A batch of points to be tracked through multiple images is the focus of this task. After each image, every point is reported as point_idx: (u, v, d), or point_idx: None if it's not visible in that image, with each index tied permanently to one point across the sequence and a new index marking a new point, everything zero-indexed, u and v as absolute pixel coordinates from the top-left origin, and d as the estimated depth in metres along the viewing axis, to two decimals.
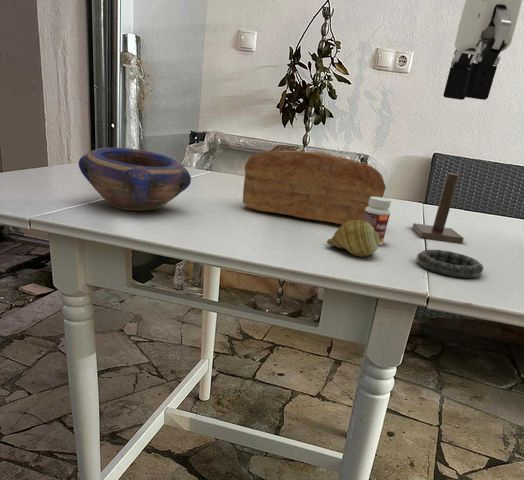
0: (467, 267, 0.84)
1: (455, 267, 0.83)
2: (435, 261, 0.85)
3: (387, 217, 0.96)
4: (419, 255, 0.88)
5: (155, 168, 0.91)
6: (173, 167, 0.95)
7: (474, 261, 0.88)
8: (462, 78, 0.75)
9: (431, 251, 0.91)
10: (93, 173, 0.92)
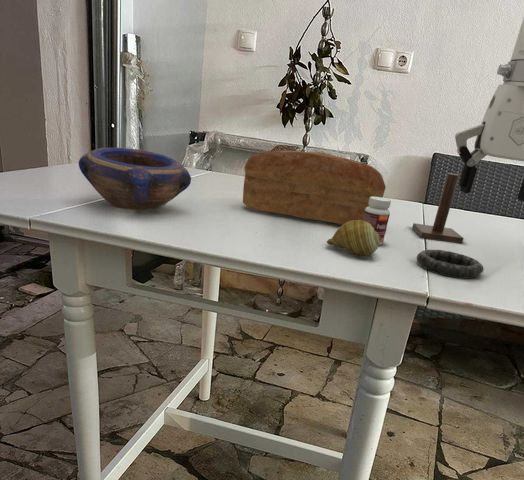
0: (467, 267, 0.84)
1: (455, 267, 0.83)
2: (435, 261, 0.85)
3: (387, 217, 0.96)
4: (419, 255, 0.88)
5: (155, 168, 0.91)
6: (173, 167, 0.95)
7: (474, 261, 0.88)
8: None
9: (431, 251, 0.91)
10: (93, 173, 0.92)
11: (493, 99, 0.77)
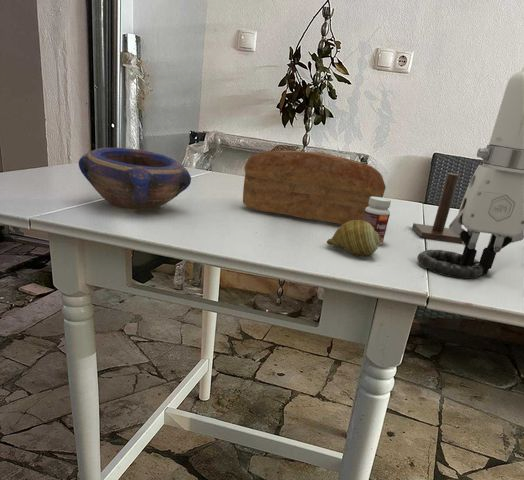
0: (468, 267, 0.84)
1: (456, 267, 0.83)
2: (435, 261, 0.85)
3: (387, 217, 0.96)
4: (420, 255, 0.88)
5: (155, 168, 0.91)
6: (173, 167, 0.95)
7: (475, 261, 0.88)
8: (485, 257, 0.87)
9: (432, 251, 0.91)
10: (93, 173, 0.92)
11: (474, 178, 0.83)
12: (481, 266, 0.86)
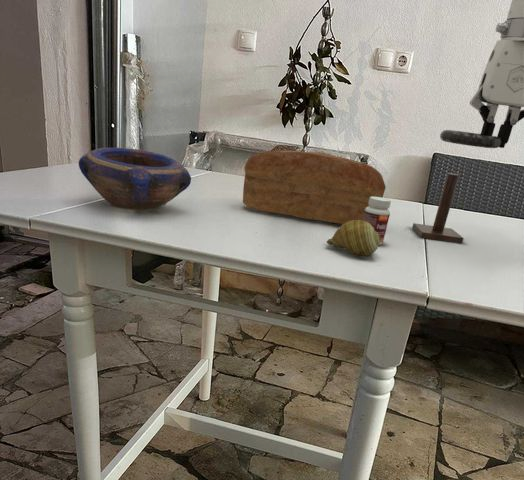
0: (488, 136, 0.92)
1: (478, 136, 0.92)
2: (458, 133, 0.93)
3: (387, 217, 0.96)
4: (443, 132, 0.97)
5: (155, 168, 0.91)
6: (173, 167, 0.95)
7: (493, 136, 0.97)
8: (502, 131, 0.96)
9: (453, 131, 0.99)
10: (93, 173, 0.92)
11: (492, 53, 0.91)
12: (499, 138, 0.94)
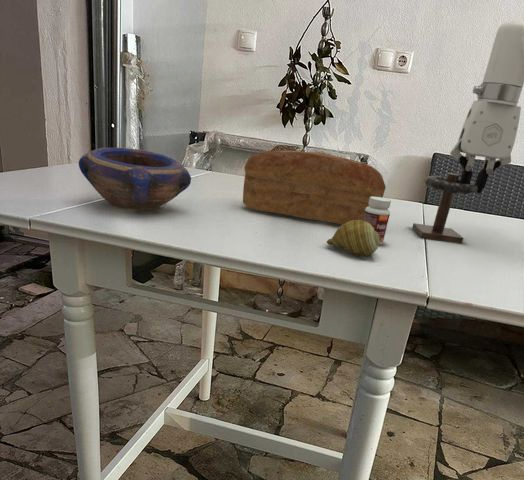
0: (465, 184, 1.03)
1: (456, 184, 1.03)
2: (439, 181, 1.04)
3: (387, 217, 0.96)
4: (426, 178, 1.08)
5: (155, 168, 0.91)
6: (173, 167, 0.95)
7: (471, 182, 1.08)
8: (479, 178, 1.07)
9: (436, 176, 1.11)
10: (93, 173, 0.92)
11: (470, 111, 1.03)
12: (476, 185, 1.06)
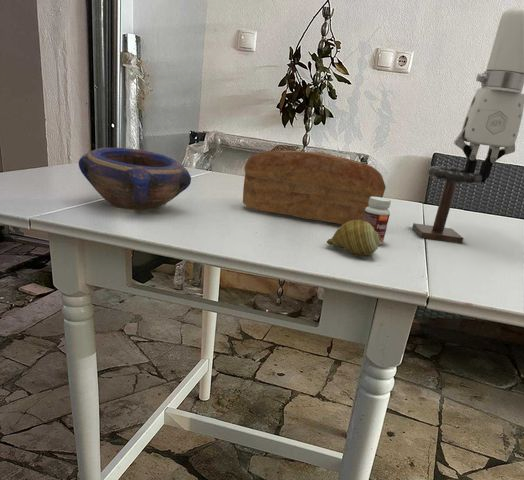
0: (469, 173, 1.02)
1: (460, 173, 1.02)
2: (443, 170, 1.03)
3: (387, 217, 0.96)
4: (429, 168, 1.07)
5: (155, 168, 0.91)
6: (173, 167, 0.95)
7: (475, 172, 1.07)
8: (483, 168, 1.06)
9: (439, 166, 1.10)
10: (93, 173, 0.92)
11: (474, 99, 1.02)
12: (480, 174, 1.05)
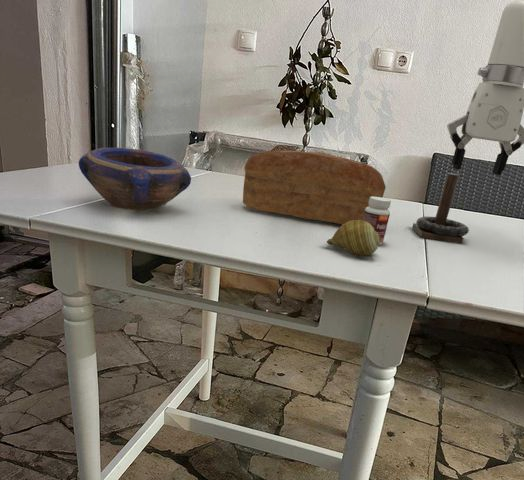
0: (456, 227, 1.07)
1: (446, 227, 1.07)
2: (430, 223, 1.08)
3: (387, 217, 0.96)
4: (418, 220, 1.12)
5: (155, 168, 0.91)
6: (173, 167, 0.95)
7: (461, 224, 1.12)
8: (499, 160, 1.05)
9: (428, 217, 1.14)
10: (93, 173, 0.92)
11: (475, 94, 1.01)
12: (466, 227, 1.09)
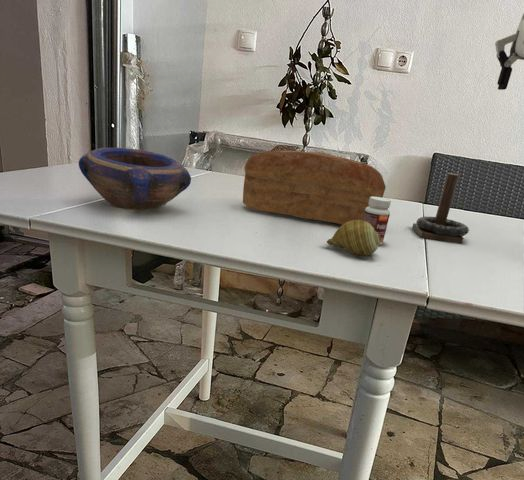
0: (456, 227, 1.07)
1: (446, 227, 1.07)
2: (430, 223, 1.08)
3: (387, 217, 0.96)
4: (418, 220, 1.12)
5: (155, 168, 0.91)
6: (173, 167, 0.95)
7: (461, 224, 1.12)
8: None
9: (428, 217, 1.14)
10: (93, 173, 0.92)
11: None
12: (466, 227, 1.09)
